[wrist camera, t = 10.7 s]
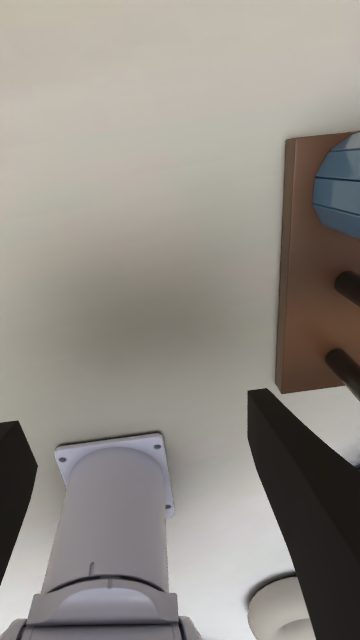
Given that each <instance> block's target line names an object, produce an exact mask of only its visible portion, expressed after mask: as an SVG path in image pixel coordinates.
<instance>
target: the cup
mask: <svg viewBox="0 0 360 640" xmlns="http://www.w3.org/2000/svg"><path fill="white" fill-rule="evenodd" d="M315 176H316V177H317V178H315V179H314V189H313V201H312V202H313V203H315V204H313V207H314V209H315V211H316V213H317V215H318V217H319V219H320V221H321V223H322V224H323V225H324V226H326V227H327V228H329V229H331V230H333V231H335V232H337V233H339V234H341V235H344V236H347V237H349V238H352V239H355V240H358V241H360V132H358V133H355V134H352V135H350V136H349V137H348V138H346V139H345V140H344V141H342V142H341V143H339V144H338V145H337V146H335V147H334V148H332V149H331V152H329V153H328V154H327V156H326V158H325V159H324V161H323V163H322V165H321V166H320V168H319V170H318V172H317V173H316V175H315Z"/></svg>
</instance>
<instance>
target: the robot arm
mask: <svg viewBox="0 0 360 640" xmlns="http://www.w3.org/2000/svg"><path fill="white" fill-rule="evenodd" d="M248 441H249V445H250V448H251V452H252V456H253V459H254V463H255V466H256V469H257V472H258V475H259V477H260V480H261V482H262V485H263V487H264V490H265V492H266V495H267V497H268V500H269V502H270V505H271V507H272V510H273V512H274V515H275V517H276V520H277V522H278V525H279V527H280V530H281V532H282V535H283V537H284V540H285V542H286V545H287V548H288V550H289V553H290V556H291V559H292V562H293V565H294V568H295V571H296V575H297V578H298V581H299V584H300V588H301V591H302V594H303V597H304V601H305V604H306V607H307V611H308V614H309V618H310V621H311V624H312V628H313V631H314V634H315V638H316V640H360V471H359V470H358V469H357V468H355V467H354V466H353V465H351V464H350V463H349V462H348V461H346V460H345V459H344V458H343V457H341V456H340V455H339V454H338V453H336V452H335V451H334V450H333V449H332V448H330V447H329V446H328V445H327V444H326V443H324V442H323V441H322V440H321V439H320V438H319V437H318V436H317V435H315V434H314V433H313V432H312V431H311V430H310V429H309V428H308V427H306V426H305V425H304V424H303V423H302V422H301V421H300V420H299V419H298V418H297V417H296V416H295V415H294V414H293V413H292V412H291V411H290V410H289V409H287V408H286V407H285V406H284V405H283V404H282V403H281V402H280V401H279V400H278V399H277V398H276V397H275V396H274V394H273V393H272V392H271V391H269V390H268V389H267V388H265V389H257V390H249V391H248ZM156 444H159V445H156ZM54 456H55V459H56V462H57V464H58V467H59V470H60V472H61V475H62V478H63V480H64V483H65V486H66V488H67V490H66V494H65V498H64V502H63V506H62V510H61V514H60V518H59V522H58V526H57V530H56V534H55V538H54V542H53V546H52V550H51V554H50V558H49V562H48V566H47V570H46V574H45V578H44V582H43V586H42V590H41V594H35V595H34V597H33V600H32V604H31V608H30V612H29V616H28V619H16V620H14V621H13V622H12V623H11V625H10V626H9V628H8V629H7V630H6V631H5V632H4V633H3V634H2V635H1V636H0V640H202V638H201V635H200V634H199V632H198V631H197V629H196V628H195V627H194V624H193V622H192V621H191V619H190V618H189V617H186V616H178V603H177V594H176V593H169V581H168V560H167V539H166V519H165V518H170V517H173V516H174V515H175V509H174V503H173V496H172V490H171V484H170V478H169V471H168V465H167V459H166V453H165V447H164V440H163V436H162V435H161V434H159V433H154V434H147V435H140V436H132V437H125V438H118V439H110V440H103V441H96V442H88V443H81V444H74V445H66V446H60V447H57V448H56V449H55V452H54ZM62 457H64V458H62ZM37 467H38V465H37V463H36V460H35V458H34V456H33V453H32V451H31V449H30V446H29V444H28V442H27V439H26V437H25V435H24V432H23V430H22V428H21V425H20V423H19V421H11V422H3V423H0V585H1V582H2V579H3V576H4V574H5V571H6V568H7V565H8V562H9V560H10V557H11V554H12V551H13V548H14V545H15V543H16V540H17V537H18V534H19V531H20V529H21V526H22V523H23V520H24V517H25V514H26V511H27V508H28V505H29V502H30V499H31V495H32V491H33V487H34V482H35V477H36V472H37Z"/></svg>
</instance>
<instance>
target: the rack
mask: <svg viewBox="0 0 360 640" xmlns="http://www.w3.org/2000/svg"><path fill="white" fill-rule="evenodd" d="M358 132H360V131H357V132H347V133H338V134H328V135H318V136H309V137H299V138H292V139H287V140H286V159H285V182H284V204H283V227H282V249H281V272H280V294H279V317H278V339H277V362H276V385H277V387H278V389H279V391H280V392H281V394H286V393H293V392H301V391H308V390H316V389H323V388H331V387H338V386H345V385H346V387H347V388H348V389H349V390H350V391H351V392H352V393H353V394H354V396H355V397H356V398H357V399H358V400H359V401H360V241H358V240H355V239H352V238H349V237H347V236H344V235H341V234H339V233H337V232H335V231H333V230H331V229H329V228H327V227H326V226H324V225H323V224H322V223H321V221H320V219H319V217H318V215H317V213H316V211H315V209H314V207H313V204H315V203H313V202H312V201H313V189H314V179H315V178H317V177H316V176H315V175H316V173H317V172H318V170H319V168H320V166H321V165H322V163H323V161H324V159H325V158H326V156H327V154H328V153H329V152H331V149H332V148H334V147H335V146H337V145H338V144H339V143H341V142H342V141H344V140H345V139H346V138H348V137H349V136H350V135H352V134H355V133H358Z"/></svg>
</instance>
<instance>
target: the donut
mask: <svg viewBox="0 0 360 640" xmlns="http://www.w3.org/2000/svg"><path fill="white" fill-rule="evenodd" d="M248 623H249V626H250V628H251V631H252V633H253V635H254V636H255V638H256V639H257V640H316V638H315V634H314V631H313V628H312V624H311V621H310V618H309V614H308V611H307V607H306V604H305V601H304V597H303V594H302V591H301V588H300V584H299V581H298V578H297V577H288V578H284V579H280V580H277V581H275V582H273V583H270V584H268V585H267V586H265V587H264V588H262V589H261V590H260V591H258V592H257V593H256V595H255V596H254V597H253V598H252V600H251V602H250V605H249V610H248Z"/></svg>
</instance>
